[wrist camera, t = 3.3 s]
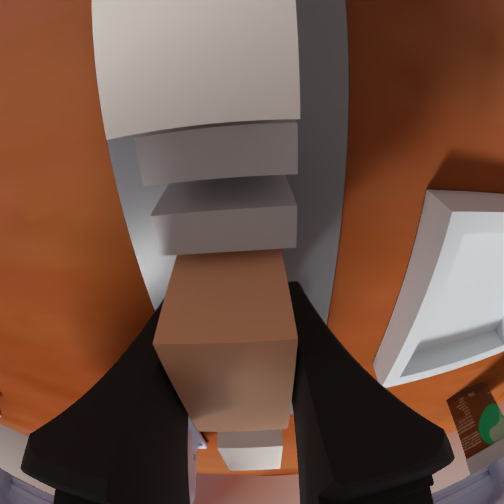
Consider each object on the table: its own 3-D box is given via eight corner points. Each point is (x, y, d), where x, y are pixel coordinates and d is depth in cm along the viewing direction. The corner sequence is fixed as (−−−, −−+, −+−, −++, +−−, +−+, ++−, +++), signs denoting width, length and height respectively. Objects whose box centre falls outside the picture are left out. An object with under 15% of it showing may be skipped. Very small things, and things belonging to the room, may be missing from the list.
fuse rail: (306, 405, 20) (312, 447, 17) (201, 411, 20) (199, 452, 17) (328, -81, 4) (361, -125, 1) (100, -57, 4) (52, -88, 1)
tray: (494, 332, 17) (505, 350, 16) (372, 363, 17) (380, 388, 16) (555, 199, 10) (574, 215, 9) (426, 189, 11) (452, 211, 9)
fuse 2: (274, 401, 18) (279, 468, 14) (230, 403, 18) (229, 470, 14) (275, 361, 15) (282, 445, 11) (220, 364, 15) (217, 448, 11)
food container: (496, 389, 26) (519, 446, 18) (460, 413, 28) (479, 471, 20) (491, 365, 21) (525, 442, 13) (443, 397, 23) (470, 476, 15)
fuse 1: (270, 95, 8) (299, 119, 4) (173, 104, 8) (106, 140, 4) (261, -44, 5) (279, -128, 1) (163, -33, 5) (99, -100, 1)
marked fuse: (275, 322, 13) (287, 428, 9) (207, 326, 13) (198, 431, 9) (275, 219, 10) (298, 338, 6) (186, 225, 10) (152, 343, 6)
